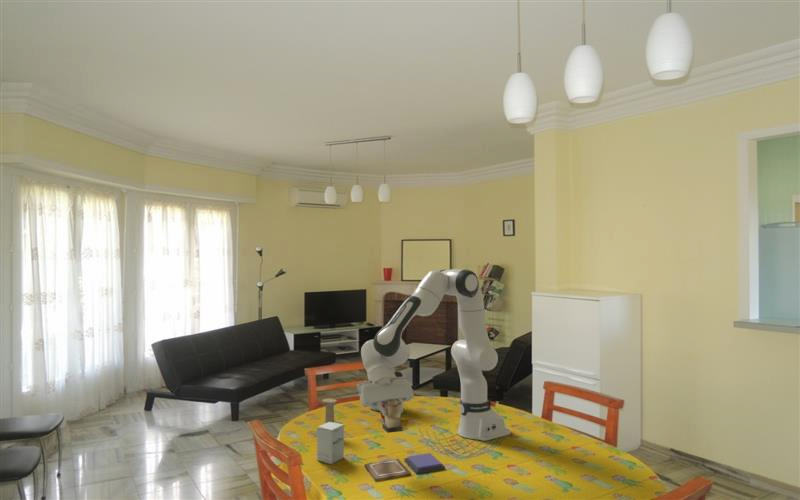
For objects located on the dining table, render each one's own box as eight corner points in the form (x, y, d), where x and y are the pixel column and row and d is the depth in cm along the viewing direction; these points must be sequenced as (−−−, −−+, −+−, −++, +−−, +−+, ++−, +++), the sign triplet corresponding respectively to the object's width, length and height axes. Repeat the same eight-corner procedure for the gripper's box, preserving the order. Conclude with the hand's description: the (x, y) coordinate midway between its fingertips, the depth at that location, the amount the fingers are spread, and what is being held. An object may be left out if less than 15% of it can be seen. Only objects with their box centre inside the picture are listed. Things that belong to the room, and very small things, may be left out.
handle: (332, 439, 212) (331, 403, 212) (320, 436, 215) (320, 400, 215) (339, 435, 216) (339, 400, 216) (327, 432, 219) (327, 397, 219)
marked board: (398, 460, 189) (398, 458, 189) (411, 475, 177) (411, 472, 177) (364, 466, 184) (364, 463, 184) (375, 481, 172) (375, 478, 172)
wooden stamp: (397, 426, 185) (397, 398, 185) (402, 431, 179) (402, 402, 180) (382, 427, 183) (382, 399, 183) (387, 432, 177) (387, 404, 178)
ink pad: (431, 456, 192) (431, 451, 192) (445, 469, 181) (445, 464, 181) (404, 461, 189) (404, 456, 189) (416, 474, 177) (416, 468, 177)
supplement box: (331, 464, 186) (331, 430, 186) (316, 460, 190) (316, 426, 190) (344, 457, 192) (344, 424, 193) (329, 453, 196) (329, 420, 196)
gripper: (358, 378, 182) (369, 412, 174) (407, 372, 192) (420, 405, 183) (353, 387, 186) (363, 422, 178) (402, 381, 196) (414, 414, 187)
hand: (393, 413), depth 181 cm, fingers closed on wooden stamp, 5 cm apart
